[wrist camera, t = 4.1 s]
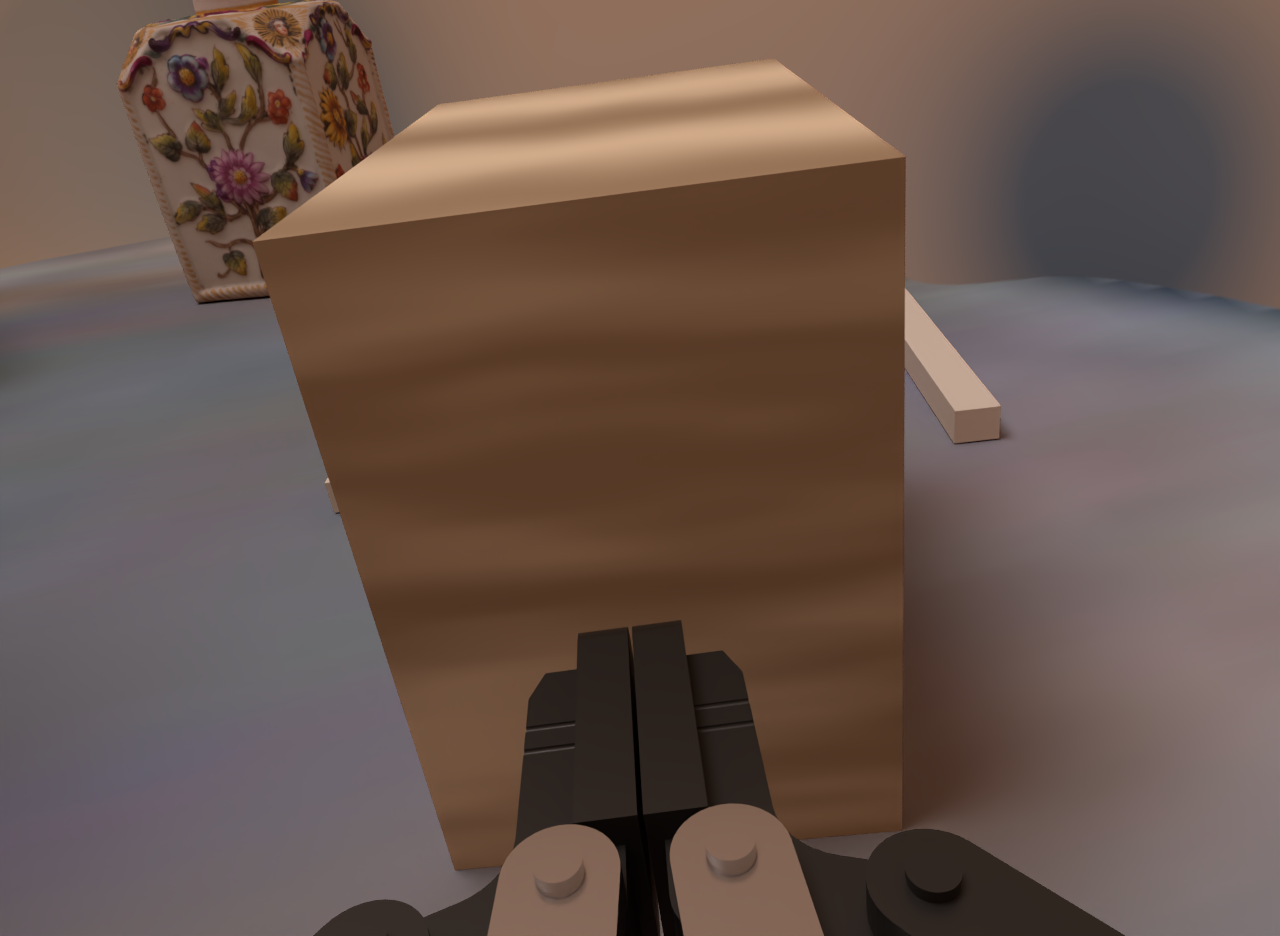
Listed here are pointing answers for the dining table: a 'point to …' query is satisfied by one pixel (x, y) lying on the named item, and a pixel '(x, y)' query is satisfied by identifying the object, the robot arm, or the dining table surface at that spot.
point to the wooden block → (619, 416)
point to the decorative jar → (248, 124)
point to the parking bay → (933, 383)
